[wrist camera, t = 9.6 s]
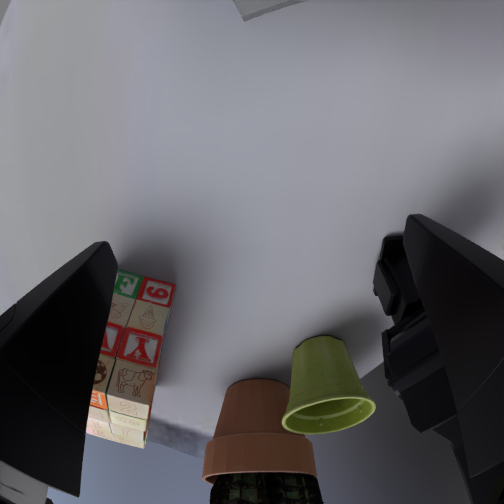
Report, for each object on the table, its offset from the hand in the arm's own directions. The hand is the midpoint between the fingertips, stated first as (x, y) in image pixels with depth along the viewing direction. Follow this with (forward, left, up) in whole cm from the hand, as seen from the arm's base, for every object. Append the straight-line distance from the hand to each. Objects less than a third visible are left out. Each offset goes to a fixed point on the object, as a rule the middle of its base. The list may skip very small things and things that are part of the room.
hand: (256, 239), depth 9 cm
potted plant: (+3, +35, -13) cm, 37 cm away
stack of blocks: (+15, +22, -13) cm, 30 cm away
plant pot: (-5, +25, -13) cm, 29 cm away
